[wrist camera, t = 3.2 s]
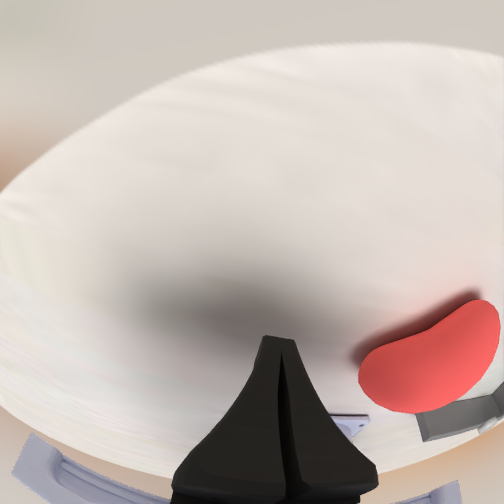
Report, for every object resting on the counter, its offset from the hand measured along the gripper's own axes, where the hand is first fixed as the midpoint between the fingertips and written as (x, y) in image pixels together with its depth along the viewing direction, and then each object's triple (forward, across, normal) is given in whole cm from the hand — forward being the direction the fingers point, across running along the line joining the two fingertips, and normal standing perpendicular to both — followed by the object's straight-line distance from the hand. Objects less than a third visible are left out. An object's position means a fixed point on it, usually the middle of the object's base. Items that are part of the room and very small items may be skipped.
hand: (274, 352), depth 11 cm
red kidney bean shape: (+3, -10, 0) cm, 10 cm away
